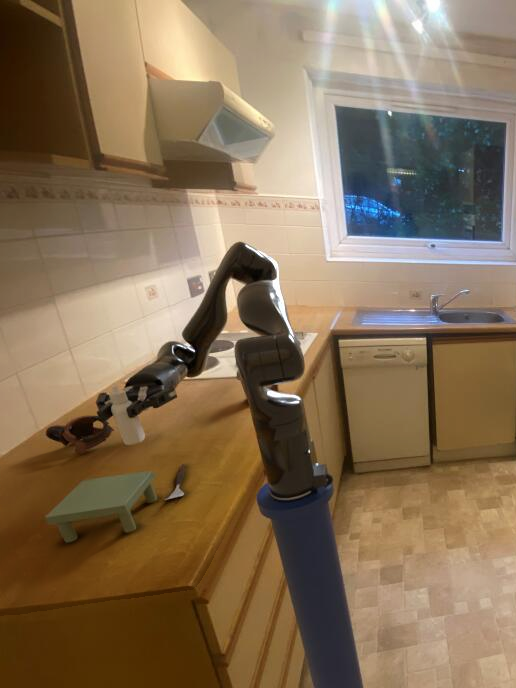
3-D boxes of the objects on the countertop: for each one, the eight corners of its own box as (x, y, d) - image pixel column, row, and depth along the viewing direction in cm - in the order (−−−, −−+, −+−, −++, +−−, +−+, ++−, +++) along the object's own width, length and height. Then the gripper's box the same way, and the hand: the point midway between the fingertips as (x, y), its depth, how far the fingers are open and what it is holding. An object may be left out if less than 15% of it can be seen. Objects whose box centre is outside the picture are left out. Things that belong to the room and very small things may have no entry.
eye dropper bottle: (113, 447, 86) (90, 392, 81) (131, 433, 91) (111, 380, 86) (138, 445, 86) (116, 390, 82) (154, 432, 92) (135, 379, 87)
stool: (162, 495, 86) (152, 470, 84) (135, 533, 76) (124, 505, 74) (94, 505, 83) (83, 479, 81) (58, 545, 74) (44, 517, 71)
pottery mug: (120, 432, 111) (116, 411, 106) (111, 463, 105) (106, 443, 100) (55, 431, 104) (47, 409, 99) (41, 464, 99) (31, 443, 94)
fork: (191, 464, 97) (188, 456, 96) (182, 504, 84) (179, 495, 83) (177, 467, 96) (174, 459, 95) (165, 508, 83) (162, 499, 82)
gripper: (111, 370, 95) (62, 401, 80) (186, 364, 99) (153, 393, 84) (123, 401, 98) (78, 437, 83) (195, 393, 102) (164, 427, 87)
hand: (116, 414), depth 84 cm, fingers closed on eye dropper bottle, 4 cm apart
